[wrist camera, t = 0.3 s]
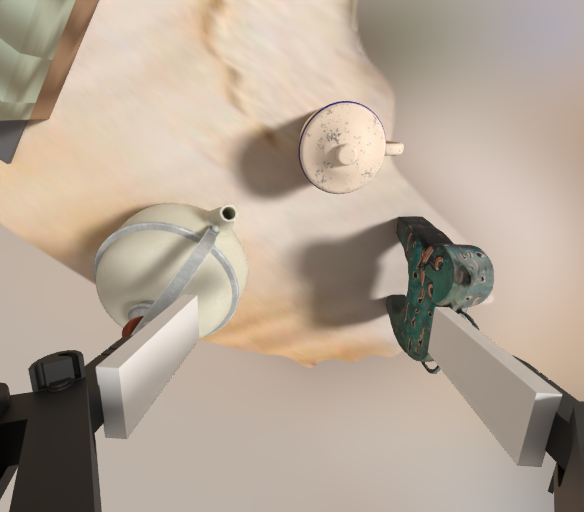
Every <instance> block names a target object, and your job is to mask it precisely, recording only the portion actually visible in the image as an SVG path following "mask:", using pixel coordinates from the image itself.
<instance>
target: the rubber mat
mask: <svg viewBox="0 0 584 512" xmlns="http://www.w3.org/2000/svg"><path fill="white" fill-rule="evenodd" d="M26 123H27V120H3V121H0V159H1V160H3V161H4V162H6V163H7V164H8V163H11V161H12V159H13V156H14V154H15V151H16V148H17V146H18V143H19V141H20V138H21V136H22V133H23V130H24V128H25V125H26Z"/></svg>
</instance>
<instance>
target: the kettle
mask: <svg viewBox="0 0 584 512" xmlns="http://www.w3.org/2000/svg"><path fill="white" fill-rule="evenodd" d="M237 215H238V212H237V209H236V208H235V207H234V206H232V205H224V206H223V207H220V208H217V209H215V210H212V211H207V210H204V209H202V208H198V207H195V206H191V205H186V204H179V203H164V204H158V205H154V206H151V207H148V208H145V209H143V210H141V211H139V212H138V213H136V214H134V215H133V216H132V217H130V218H129V219H128V220H127V221H126V222H125V223H124V224H123V225H122V226H121V227H120V229H118V230H117V231H115V232H113V233H112V234H111V235H110V236H108V237H107V238H106V239H105V241H104V242H103V243H102V244H101V246H100V248H99V249H98V251H97V254H96V257H95V261H94V277H95V282H96V287H97V292H98V296H99V299H100V301H101V303H102V305H103V307H104V309H105V310H106V312H107V313H108V314H109V315H110V317H111V318H112V319H113V320H114V321H115V322H116V323H117V324H118V325H120V326H121V327H122V328H123V331H122V338H121V339H123V338H125V337H127V336H129V335H135V334H136V333H137V332H139V331H140V330H141V329H142V328H143V327H145V326H146V325H147V324H148V323H150V322H151V321H152V320H153V319H154V318H156V317H157V316H158V315H159V314H160V313H162V312H163V311H164V310H165V309H167V308H168V307H169V306H170V305H171V304H173V303H174V302H175V301H176V300H177V299H179V298H180V297H181V296H182V295H184V294H187V295H197V302H198V325H199V338H203V337H206V336H208V335H211V334H213V333H215V332H217V331H218V330H220V329H221V328H222V327H224V326H225V325H226V324H227V323H228V322H229V320H230V319H231V318H232V316H233V315H234V313H235V311H236V308H237V305H238V301H239V299H240V297H241V295H242V293H243V291H244V288H245V286H246V282H247V277H248V262H247V257H246V253H245V251H244V248H243V246H242V244H241V242H240V240H239V239H238V237H237V235H236V234H235V232H234V231H233V230H232V226H233V223H234V220H235V219H236V218H237Z"/></svg>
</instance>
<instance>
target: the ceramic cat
mask: <svg viewBox="0 0 584 512" xmlns="http://www.w3.org/2000/svg"><path fill="white" fill-rule="evenodd" d="M396 233H397V235H398V237H399V239H400V242H401V244H402V246H403V248H404V251H405V256H406V259H407V261H408V274H409V283H408V292H407V296H405V295H391V296H389V297H388V299H387V302H386V307H387V311H388V314H389V317H390V321H391V325H392V328H393V332H394V335H395V337H396V339H397V341H398V343H399V345H400V346H401V348H402V349H403V350H404V351H405V352H406V353H407V354H408V355H409V356H410V357H411V358H413V359H414V360H416V361H421V362H422V364H423V366H424V367H425V368H426V370H427V371H428V372H429V373H432V374H436V373H437V372H438V371H439V370H440V369H441V368H440V367H439V366H437V367H436V368H435V369H433V370H432V369H429V368H428V367H427V365H426V364H425V362H430V361H434V360H433V358H432V357H431V356H430V354H429V353H428V347H429V341H430V335H431V328H432V322H433V316H434V310H435V307H449V308H451V309H452V310H453V311H455V312H456V313H457V314H459V315H460V316H461V317H462V318H464V319H465V318H467V319H468V320H469V321H470V322H471V323H472V325H473V326H474V327H475V328H477V329H478V330H479V328H478V326H477V325H476V324H475V323H474V321H473V319H472V318H471V317H470V316H469V315H468V314H466V312H467V308H468V307H471V306H474V305H477V304H480V303H481V302H483V301H484V300H485V299H486V298H487V297H488V296H489V295H490V293H491V291H492V288H493V282H494V270H493V265H492V263H491V261H490V259H489V257H488V256H487V255H486V254H485V253H484V252H483V251H482V250H481V249H480V248H478V247H475V246H472V245H456V244H454V243H453V242H452V241H451V240H450V239H449V238H448V237H447V236H446V235H445V234H444V233H443V232H442V231H440V230H438V229H437V228H435V227H434V226H433V225H432V224H431V223H430V222H429V221H427V220H426V219H424V218H423V217H416V216H415V217H399V220H398V226H397V232H396ZM479 331H480V330H479Z"/></svg>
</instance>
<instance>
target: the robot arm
mask: <svg viewBox="0 0 584 512" xmlns="http://www.w3.org/2000/svg"><path fill="white" fill-rule="evenodd" d="M198 341H199V325H198V302H197V295H187V294H184V295H182V296H181V297H180V298H179V299H177V300H176V301H175V302H174V303H173V304H171V305H170V306H169V307H168V308H167V309H165V310H164V311H163V312H162V313H160V314H159V315H158V316H157V317H156V318H154V319H153V320H152V321H151V322H150V323H148V324H147V325H146V326H145V327H143V328H142V329H141V330H140V331H139V332H137V333H136V334H135V335H129V336H127V337H125V338H123V339H120V340H118V341H117V342H116V343H114V344H113V345H112V346H110V347H109V349H107V350H105V351H104V352H103V353H101V355H99V356H98V357H96V358H95V359H94V360H92V361H91V362H90V363H89V364H87V365H86V366H84V359H83V354H82V353H81V352H79V351H76V350H67V351H62V352H57V353H54V354H51V355H47V356H45V357H43V358H41V359H39V360H37V361H36V362H34V363H33V364H32V365H31V366H30V368H29V369H28V370H29V375H30V380H31V385H32V390H33V392H30V393H23V394H16V395H10V393H9V388H8V386H7V385H6V384H5V383H0V499H1V497H2V495H3V494H4V492H5V490H6V488H7V486H8V484H9V482H10V481H11V479H12V477H13V475H14V473H15V471H16V469H17V468H18V471H17V476H16V480H15V485H14V490H13V495H12V501H11V505H10V511H9V512H102V511H101V499H100V487H99V476H98V463H97V451H96V440H95V434H94V433H95V432H96V431H97V430H98V429H99V427H100V426H101V425H102V424H104V431H105V437H106V438H121V439H127V438H128V437H129V435H130V434H131V433H132V431H133V430H134V429H135V427H136V426H137V424H138V423H139V422H140V420H141V419H142V417H143V416H144V415H145V413H146V412H147V411H148V409H149V408H150V406H151V405H152V404H153V402H154V401H155V400H156V398H157V397H158V396H159V394H160V393H161V391H162V390H163V389H164V387H165V386H166V384H167V383H168V382H169V380H170V379H171V378H172V376H173V375H174V374H175V372H176V371H177V369H178V368H179V367H180V365H181V364H182V362H183V361H184V359H185V358H186V357H187V355H188V354H189V353H190V351H191V350H192V349H193V347H194V346H195V345H196V343H197V342H198ZM428 353H429V354H430V356H431V357H432V358H433V360H434V361H435V362H436V363H437V365H438V366H439V367H440V368H441V370H442V371H443V372H444V373H445V375H446V376H447V377H448V378H449V380H450V381H451V382H452V384H453V385H454V386H455V387H456V389H457V390H458V391H459V392H460V394H461V395H462V396H463V397H464V399H465V400H466V401H467V402H468V404H469V405H470V406H471V408H472V409H473V410H474V411H475V413H476V414H477V415H478V416H479V418H480V419H481V420H482V421H483V423H484V424H485V425H486V426H487V428H488V429H489V430H490V432H491V433H492V434H493V435H494V437H495V438H496V439H497V440H498V441H499V443H500V444H501V445H502V447H503V448H504V449H505V450H506V452H507V453H508V454H509V455H510V457H511V458H512V459H513V461H514V462H515V463H516V464H517V465H520V466H534V467H541V466H542V463H543V459H544V456H545V452H548V454H549V455H550V456H551V457H552V458H553V459H554V460H555V461H556V462H557V463H556V466H555V470H554V473H553V476H552V479H551V482H550V486H549V489H548V492H550V493H552V494H553V492H554V506H555V507H554V509H555V512H584V402H582V401H581V402H579V401H578V400H576V399H575V398H574V397H572V396H571V395H570V394H568V393H567V392H566V391H564V390H563V389H562V388H560V387H559V386H558V385H556V384H555V383H554V382H552V381H551V380H548V378H547V377H546V376H544V375H543V374H542V373H539V372H538V371H537V370H536V369H535V368H534V367H532V366H531V365H530V364H528V363H527V362H525V361H523V360H521V359H519V358H517V357H515V356H513V355H511V354H509V353H508V352H507V351H505V350H504V349H503V348H501V347H500V346H499V345H498V344H496V343H495V342H494V341H492V340H491V339H490V338H488V337H487V336H486V335H485V334H483V333H482V332H481V331H479V330H478V329H477V328H475V327H474V326H473V325H472V324H470V323H469V322H468V321H466V320H465V319H464V318H462V317H461V316H460V315H459V314H457V313H456V312H455V311H453V310H452V309H451V308H449V307H435V310H434V316H433V322H432V328H431V335H430V341H429V347H428Z"/></svg>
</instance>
